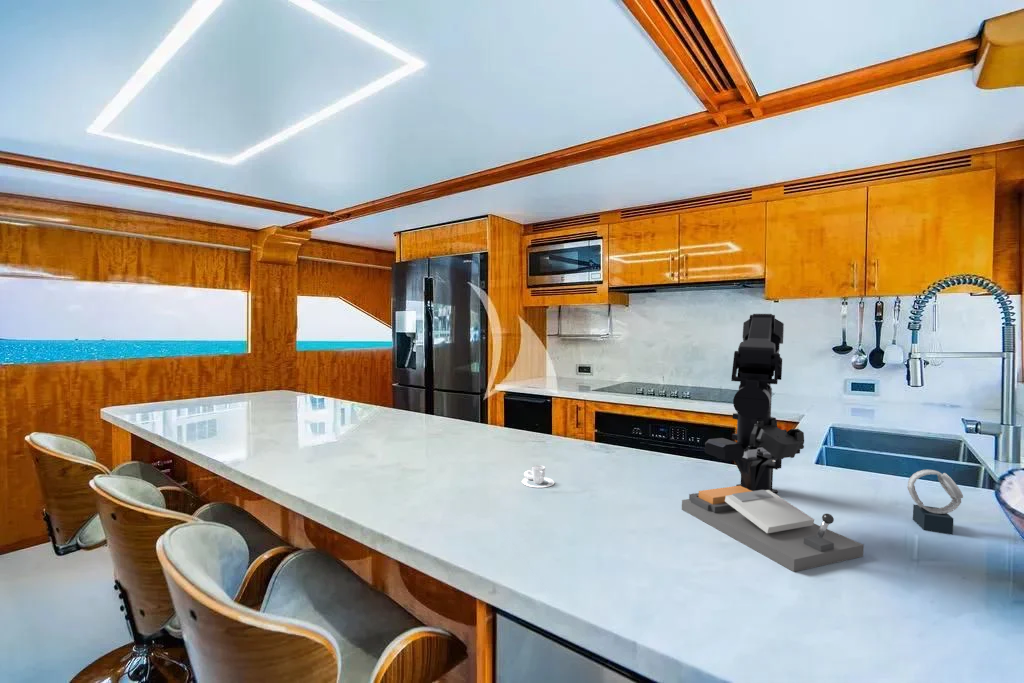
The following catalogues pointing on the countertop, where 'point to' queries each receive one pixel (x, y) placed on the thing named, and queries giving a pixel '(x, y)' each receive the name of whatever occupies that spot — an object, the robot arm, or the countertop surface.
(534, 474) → the teacup and saucer
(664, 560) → the countertop surface
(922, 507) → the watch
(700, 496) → the push button
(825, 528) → the toggle lever
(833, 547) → the panel
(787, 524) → the rocker switch
